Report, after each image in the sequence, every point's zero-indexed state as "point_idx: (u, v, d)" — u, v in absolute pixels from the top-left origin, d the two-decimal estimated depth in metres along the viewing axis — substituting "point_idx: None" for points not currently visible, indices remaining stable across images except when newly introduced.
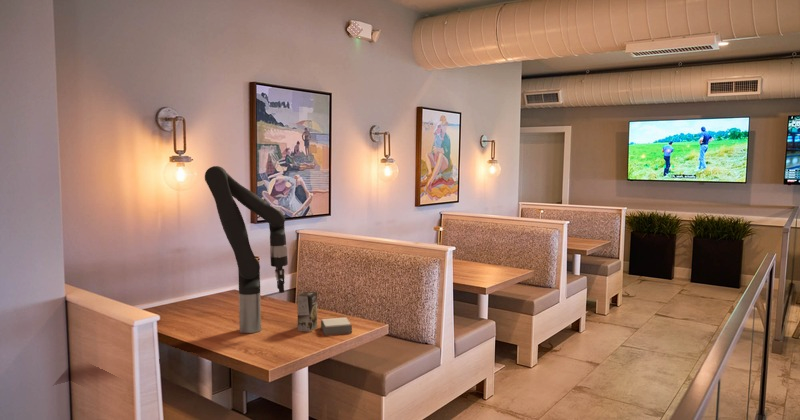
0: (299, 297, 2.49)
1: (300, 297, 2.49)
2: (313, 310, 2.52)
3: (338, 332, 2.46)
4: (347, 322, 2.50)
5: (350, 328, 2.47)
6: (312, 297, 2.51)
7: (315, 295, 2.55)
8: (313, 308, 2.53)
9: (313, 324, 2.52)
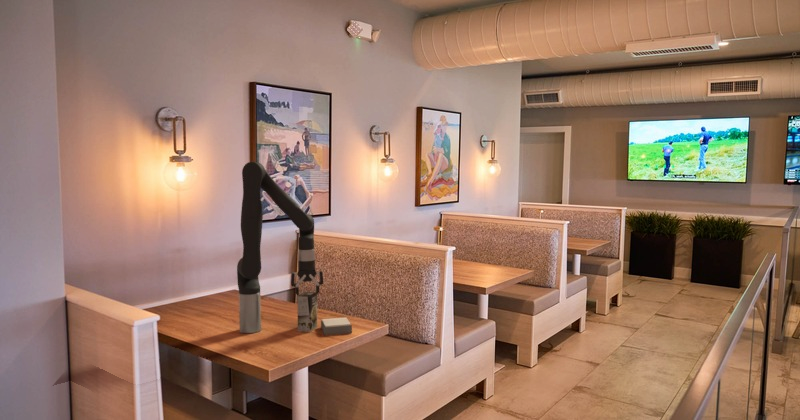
0: (299, 297, 2.49)
1: (300, 297, 2.49)
2: (313, 311, 2.52)
3: (338, 332, 2.46)
4: (347, 322, 2.50)
5: (350, 328, 2.47)
6: (312, 297, 2.51)
7: (315, 295, 2.55)
8: (313, 309, 2.53)
9: (313, 325, 2.52)
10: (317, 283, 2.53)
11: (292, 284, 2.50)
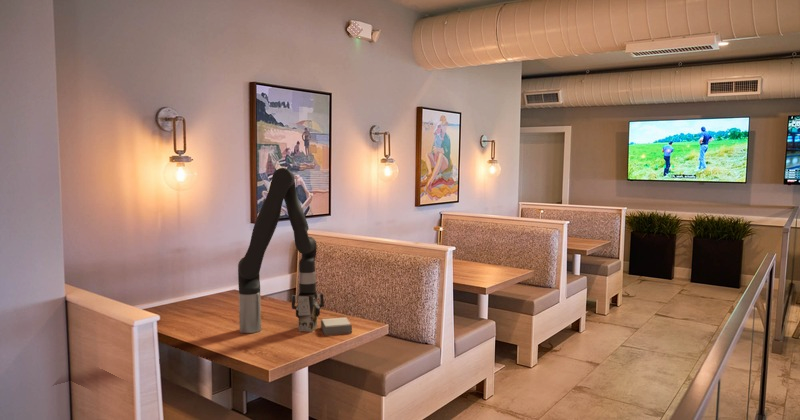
0: (300, 297, 2.49)
1: (301, 297, 2.49)
2: (313, 310, 2.52)
3: (338, 332, 2.46)
4: (347, 322, 2.50)
5: (350, 328, 2.47)
6: (313, 297, 2.51)
7: None
8: (314, 308, 2.53)
9: (313, 324, 2.52)
10: (318, 306, 2.54)
11: (293, 307, 2.51)
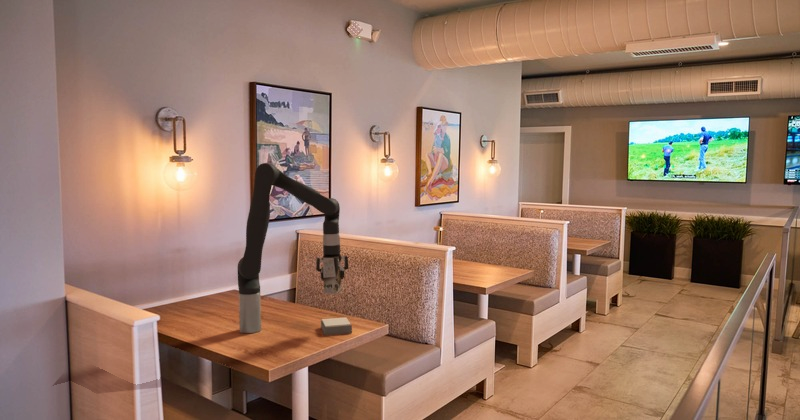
0: (325, 259, 2.46)
1: (326, 259, 2.46)
2: (338, 272, 2.49)
3: (338, 332, 2.46)
4: (347, 322, 2.50)
5: (350, 328, 2.47)
6: (338, 259, 2.48)
7: None
8: (339, 270, 2.50)
9: (338, 287, 2.49)
10: (342, 268, 2.50)
11: (318, 269, 2.47)
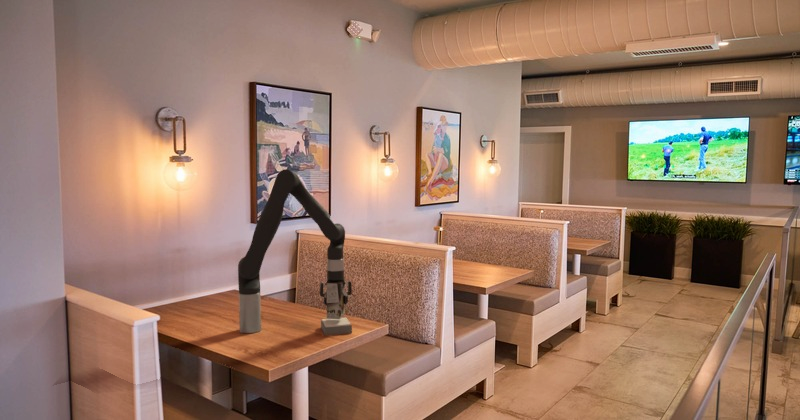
0: (328, 284, 2.46)
1: (329, 284, 2.46)
2: (342, 298, 2.49)
3: (338, 332, 2.46)
4: (347, 322, 2.50)
5: (350, 328, 2.47)
6: (341, 284, 2.48)
7: None
8: (342, 296, 2.50)
9: (341, 312, 2.49)
10: (345, 293, 2.51)
11: (321, 294, 2.48)
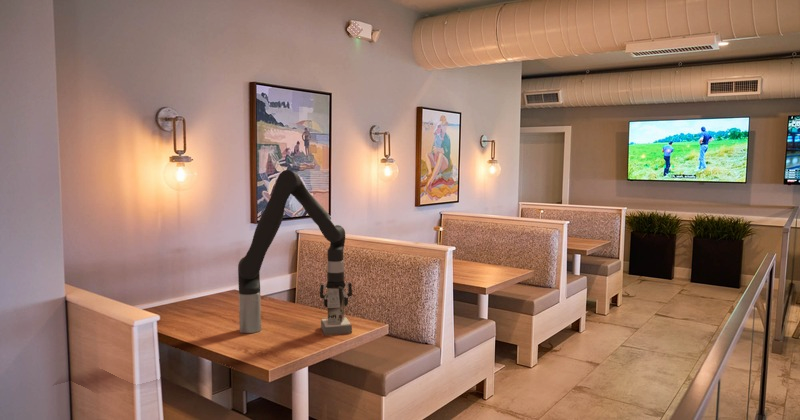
0: (330, 289, 2.46)
1: (331, 289, 2.46)
2: (342, 303, 2.49)
3: (338, 332, 2.46)
4: (347, 322, 2.50)
5: (350, 328, 2.47)
6: (342, 289, 2.48)
7: None
8: (343, 301, 2.50)
9: (342, 317, 2.50)
10: (346, 295, 2.51)
11: (321, 296, 2.48)
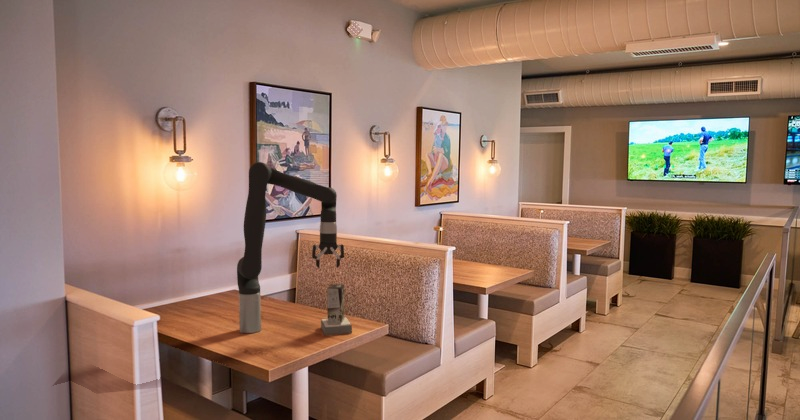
0: (329, 290, 2.46)
1: (330, 290, 2.46)
2: (342, 303, 2.49)
3: (338, 332, 2.46)
4: (347, 322, 2.50)
5: (350, 328, 2.47)
6: (342, 289, 2.48)
7: (343, 287, 2.52)
8: (342, 301, 2.50)
9: (342, 317, 2.50)
10: (338, 256, 2.54)
11: (313, 256, 2.51)
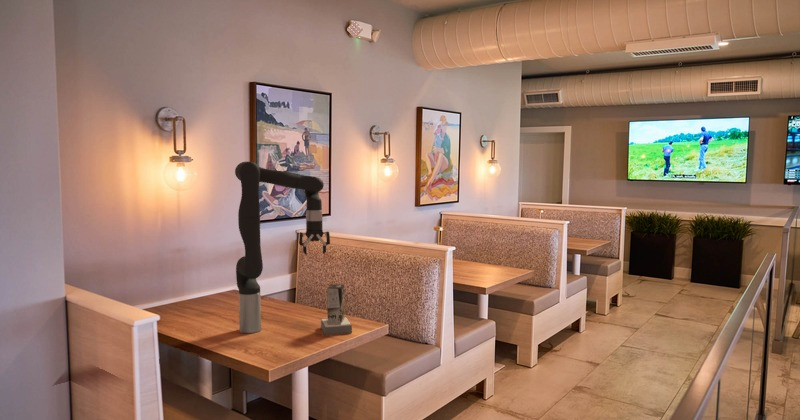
0: (329, 290, 2.46)
1: (330, 290, 2.46)
2: (342, 303, 2.49)
3: (338, 332, 2.46)
4: (347, 322, 2.50)
5: (350, 328, 2.47)
6: (342, 289, 2.48)
7: (343, 287, 2.52)
8: (342, 301, 2.50)
9: (342, 317, 2.50)
10: (324, 243, 2.64)
11: (300, 243, 2.61)
